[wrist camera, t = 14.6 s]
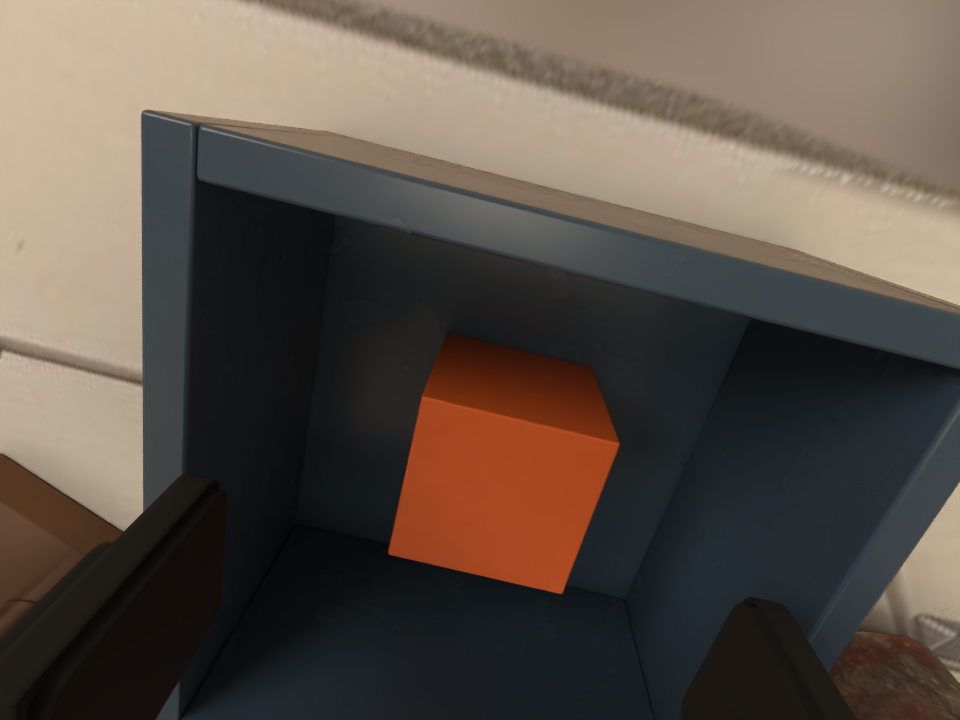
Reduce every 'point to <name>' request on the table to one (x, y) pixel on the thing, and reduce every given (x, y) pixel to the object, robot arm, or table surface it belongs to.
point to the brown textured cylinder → (895, 680)
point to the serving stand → (39, 539)
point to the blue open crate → (535, 329)
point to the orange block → (504, 465)
